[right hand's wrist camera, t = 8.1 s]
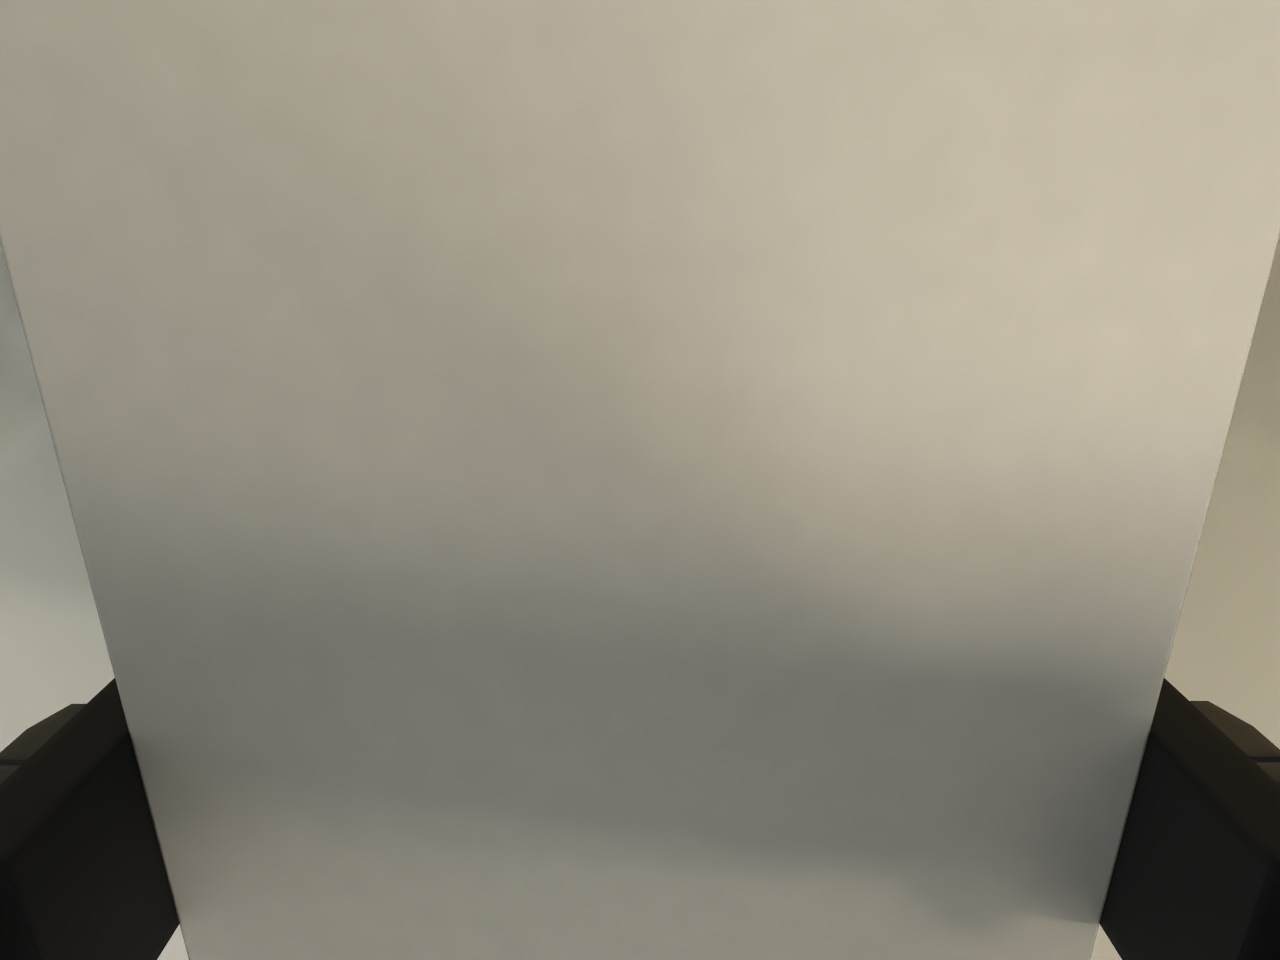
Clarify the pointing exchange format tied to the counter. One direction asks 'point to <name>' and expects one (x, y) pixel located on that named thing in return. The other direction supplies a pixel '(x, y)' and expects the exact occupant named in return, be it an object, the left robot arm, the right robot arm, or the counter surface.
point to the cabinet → (639, 449)
